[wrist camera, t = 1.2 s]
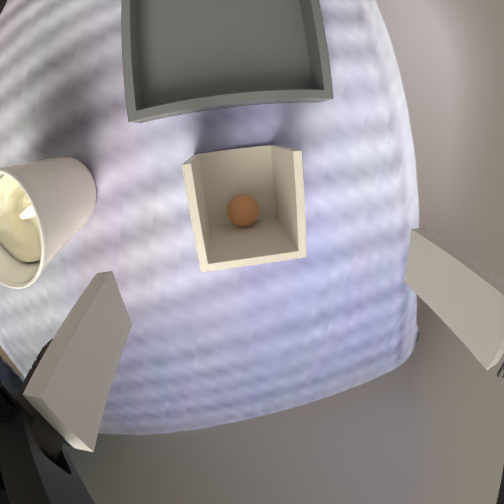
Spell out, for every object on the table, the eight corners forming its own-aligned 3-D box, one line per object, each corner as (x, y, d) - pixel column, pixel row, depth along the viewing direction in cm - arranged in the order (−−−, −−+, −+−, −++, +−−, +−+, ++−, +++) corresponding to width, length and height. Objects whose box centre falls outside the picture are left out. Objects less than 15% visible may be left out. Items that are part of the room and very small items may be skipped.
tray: (133, -17, 16) (123, -32, 12) (296, -33, 17) (306, -49, 13) (140, 122, 23) (128, 122, 20) (318, 102, 24) (333, 98, 21)
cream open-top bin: (193, 154, 25) (181, 164, 17) (275, 144, 26) (301, 150, 18) (205, 230, 29) (201, 272, 21) (281, 220, 29) (306, 257, 21)
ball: (224, 192, 27) (225, 204, 24) (255, 188, 27) (260, 199, 24) (228, 220, 28) (230, 234, 26) (258, 216, 28) (262, 229, 26)
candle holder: (120, 190, 26) (64, 231, 15) (74, 251, 28) (21, 309, 17) (63, 131, 22) (-11, 142, 11) (23, 197, 24) (-42, 234, 13)
